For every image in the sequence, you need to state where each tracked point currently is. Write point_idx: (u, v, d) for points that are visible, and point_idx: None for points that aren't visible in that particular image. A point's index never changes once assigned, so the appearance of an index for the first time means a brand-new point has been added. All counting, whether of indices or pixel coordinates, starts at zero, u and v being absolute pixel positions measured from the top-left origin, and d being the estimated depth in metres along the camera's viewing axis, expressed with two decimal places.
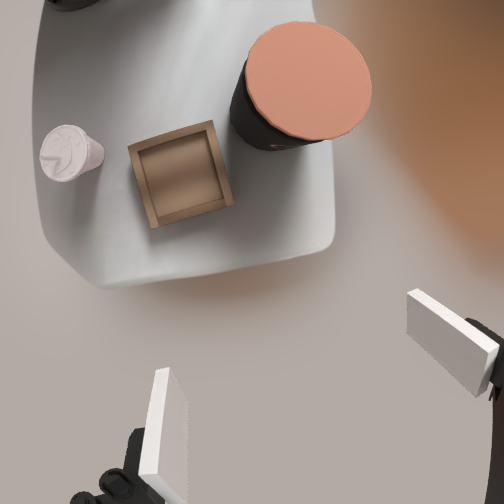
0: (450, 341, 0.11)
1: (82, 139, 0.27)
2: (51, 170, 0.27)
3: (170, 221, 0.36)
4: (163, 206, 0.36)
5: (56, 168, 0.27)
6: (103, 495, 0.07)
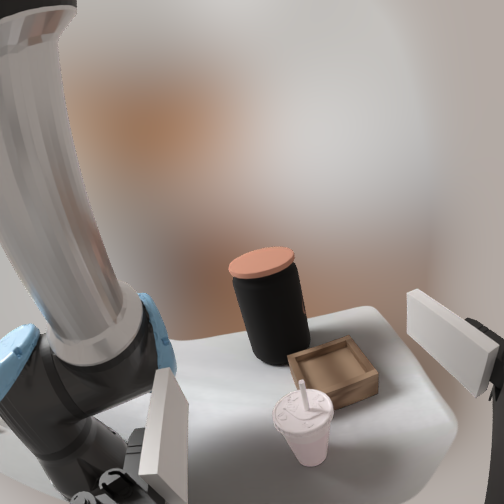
0: (450, 341, 0.11)
1: (291, 394, 0.30)
2: (319, 417, 0.26)
3: (369, 363, 0.38)
4: (359, 376, 0.38)
5: (317, 411, 0.27)
6: (103, 495, 0.07)
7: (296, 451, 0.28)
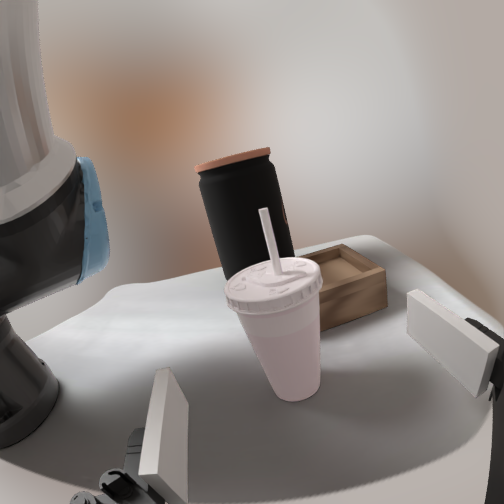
0: (450, 341, 0.11)
1: (257, 265, 0.22)
2: (298, 280, 0.18)
3: (371, 262, 0.30)
4: None
5: (295, 273, 0.18)
6: (103, 495, 0.07)
7: (267, 362, 0.19)
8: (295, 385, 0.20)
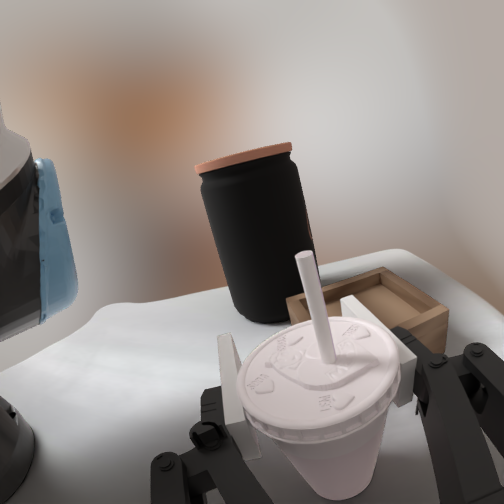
0: None
1: (286, 332, 0.13)
2: (368, 377, 0.09)
3: (428, 297, 0.21)
4: None
5: (359, 360, 0.10)
6: (184, 454, 0.09)
7: (307, 474, 0.11)
8: (344, 490, 0.11)
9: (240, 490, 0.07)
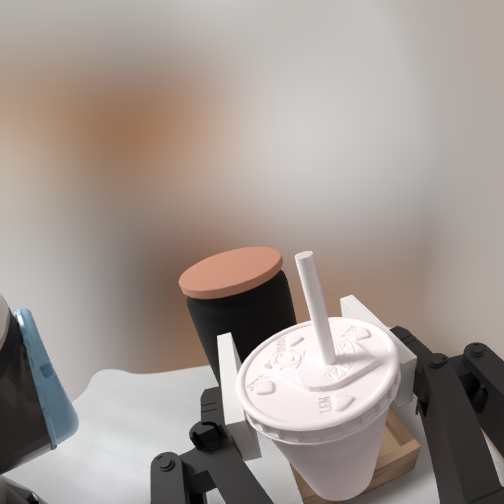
0: None
1: (286, 332, 0.13)
2: (368, 378, 0.09)
3: (404, 428, 0.21)
4: (388, 448, 0.20)
5: (359, 361, 0.10)
6: (184, 454, 0.09)
7: (307, 475, 0.11)
8: (344, 490, 0.11)
9: (240, 490, 0.07)
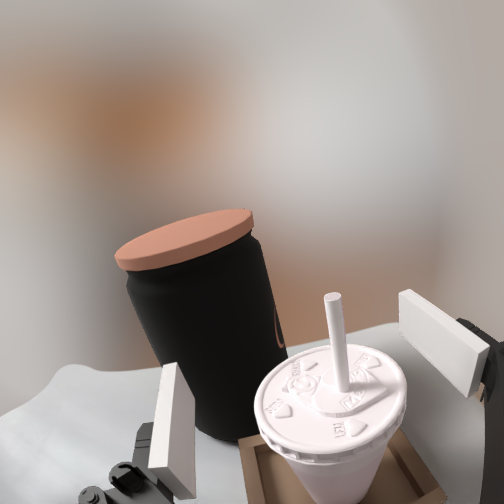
0: (441, 341, 0.11)
1: (300, 356, 0.14)
2: (378, 407, 0.09)
3: (425, 470, 0.12)
4: (399, 498, 0.11)
5: (371, 390, 0.10)
6: (112, 490, 0.08)
7: (312, 488, 0.11)
8: (344, 501, 0.11)
9: None
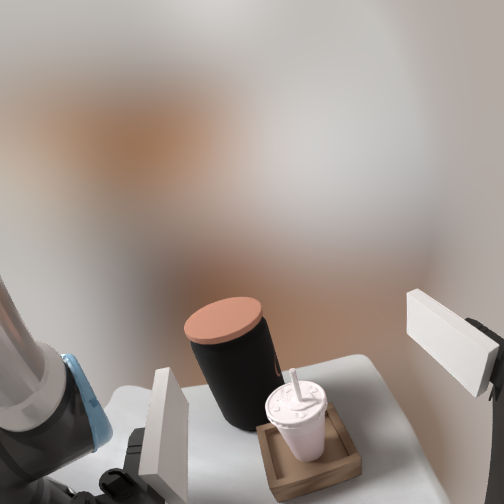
0: (450, 341, 0.11)
1: (284, 386, 0.31)
2: (312, 408, 0.26)
3: (351, 443, 0.28)
4: (338, 457, 0.28)
5: (310, 401, 0.27)
6: (103, 495, 0.07)
7: (291, 445, 0.28)
8: (308, 455, 0.28)
9: None
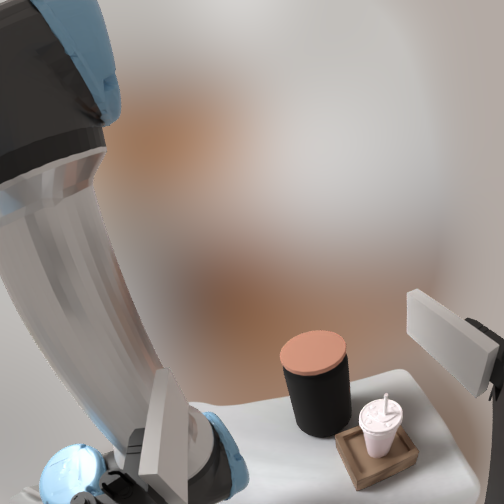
0: (450, 341, 0.11)
1: (370, 403, 0.37)
2: (395, 419, 0.33)
3: (410, 441, 0.35)
4: (401, 452, 0.35)
5: (393, 414, 0.34)
6: (103, 495, 0.07)
7: (373, 446, 0.35)
8: (382, 452, 0.35)
9: None
